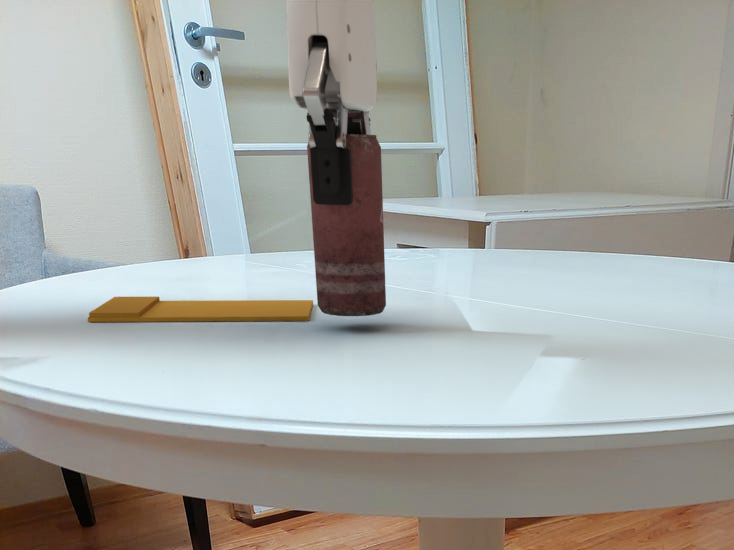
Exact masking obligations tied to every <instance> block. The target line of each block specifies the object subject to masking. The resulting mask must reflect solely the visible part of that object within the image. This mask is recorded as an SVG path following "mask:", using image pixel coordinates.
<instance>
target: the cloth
mask: <svg viewBox="0 0 734 550" xmlns="http://www.w3.org/2000/svg"><path fill="white" fill-rule="evenodd" d="M313 306H314V301H313V299H293V300H292V299H282V300H281V299H279V300H277V299H276V300H275V299H274V300H273V299H268V300H267V299H266V300H265V299H264V300H262V299H260V300H259V299H258V300H255V299H252V300H249V299H247V300H243V299H242V300H241V299H240V300H237V299H235V300H231V299H230V300H228V299H227V300H160V296H113V297H112V298H110V299H109V300H107V301H106V302H104V303H102V304H101V305H99V306H98V307H96V308H94V309H93V310H91V311H90V312H88V317H87V322H88V323H136V322H137V323H139V322H145V323H146V322H147V323H149V322H152V323H154V322H155V323H156V322H157V323H159V322H161V323H163V322H165V323H166V322H167V323H168V322H305V321H306V322H308V321H310V317H311V312H312V309H313Z"/></svg>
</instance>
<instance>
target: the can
mask: <svg viewBox="0 0 734 550" xmlns="http://www.w3.org/2000/svg"><path fill="white" fill-rule="evenodd" d="M310 149H311V148H310V145H309V141H308V142H307V145H306V152H307V164H308V165H307V167H308V182H309V198H310V210H311V226H312V241H313V254H314V255H313V256H314V257H313V258H314V269H315V271H314V272H315V285H316V301H317V306H318V308H319V310H320V312H321V313H323V314H325V315H330V316H336V317H368V316H375V315H379V314H381V313H383V312H384V310H385V308H386V306H387V293H386V290H387V289H386V267H385V266H386V264H385V258H386V257H385V234H384V233H385V230H384V227H385V226H384V198H383V170H382V169H383V168H382V167H383V165H382V147H381V144H380V142H379V140H378V138H377V134H371V135H359V134H347V138H346V148H345V149H351V167H352V188H353V202H352V204H350V205H322V204H316V203H315V202H314V200H313V186H312V171H311V156H310Z"/></svg>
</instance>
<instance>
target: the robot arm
mask: <svg viewBox="0 0 734 550" xmlns="http://www.w3.org/2000/svg"><path fill="white" fill-rule="evenodd" d="M285 8H286V9H285V11H286V12H285V15H286V16H285V18H286V47H287V49H286V50H287V69H288V70H287V72H288V73H287V74H288V88H289V97H290V99H291V101H292V103H293V104H294V105H295V106H296V107H298V108H299V109H304V110H307V114H306V121H307V122H308V142H309V145H310V148H311V149H310V156H311V171H312V186H313V200H314V202H315V203H316V204H322V205H350V204H352V202H353V188H352V167H351V149H345V148H346V138H347V134H359V135H372V133H371V123H370V122H371V117H369V114H370V111H371V110H373V108H374V107H375V106H376V104H377V96H378V68H377V66H378V65H377V46H376V45H377V44H376V27H375V12H374V0H285Z"/></svg>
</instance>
